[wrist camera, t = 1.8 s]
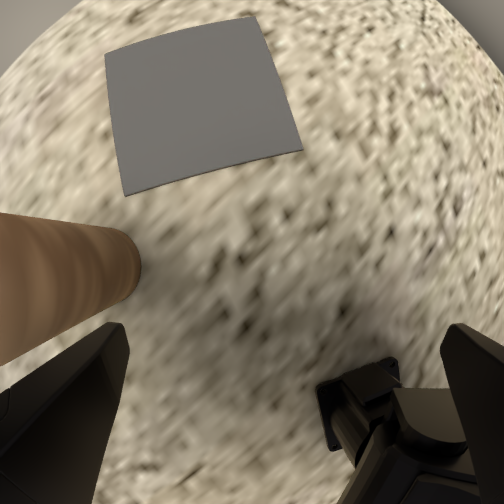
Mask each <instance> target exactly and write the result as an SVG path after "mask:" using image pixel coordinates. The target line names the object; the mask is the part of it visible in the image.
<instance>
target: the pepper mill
mask: <svg viewBox="0 0 504 504" xmlns="http://www.w3.org/2000/svg"><path fill="white" fill-rule="evenodd" d="M140 274H141V260H140V255H139V252H138V250H137V248H136V246H135V244H134V243H133V241H132V240H131V239H130V238H129V237H128V236H127V235H126V234H124V233H123V232H121V231H119V230H116V229H112V228H106V227H99V226H92V225H85V224H78V223H71V222H64V221H57V220H50V219H43V218H35V217H28V216H21V215H14V214H7V213H0V366H3V365H5V364H6V363H8V362H10V361H12V360H14V359H15V358H17V357H19V356H21V355H23V354H24V353H26V352H28V351H30V350H32V349H33V348H35V347H37V346H39V345H41V344H42V343H44V342H46V341H48V340H50V339H52V338H53V337H55V336H57V335H59V334H61V333H62V332H64V331H66V330H68V329H70V328H72V327H73V326H75V325H77V324H79V323H81V322H83V321H85V320H86V319H88V318H90V317H92V316H94V315H96V314H97V313H99V312H101V311H103V310H105V309H107V308H109V307H111V306H112V305H114V304H116V303H118V302H120V301H122V300H124V299H125V298H127V297H128V296H129V295H130V294H131V293H132V292H133V291H134V289H135V288H136V286H137V284H138V282H139V278H140Z"/></svg>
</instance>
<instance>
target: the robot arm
mask: <svg viewBox="0 0 504 504" xmlns="http://www.w3.org/2000/svg"><path fill="white" fill-rule="evenodd" d="M129 354H130V348H129V344H128V340H127V336H126V332H125V328H124V326H123V325H122V324H121V323H115V322H107V323H105V324H104V325H102V326H101V327H99V328H98V329H96V330H94V331H93V332H91V333H90V334H88V335H87V336H85V337H84V338H82V339H81V340H79V341H78V342H76V343H75V344H73V345H72V346H70V347H69V348H67V349H66V350H64V351H63V352H61V353H60V354H58V355H57V356H55V357H54V358H52V359H51V360H49V361H48V362H46V363H45V364H43V365H42V366H40V367H39V368H37V369H36V370H34V371H33V372H31V373H30V374H28V375H27V376H25V377H24V378H22V379H21V380H19V381H18V382H16V383H15V384H14V385H12V386H11V387H10V388H8V389H6V390H5V391H3V392H2V393H0V504H92V500H93V496H94V491H95V487H96V483H97V480H98V476H99V472H100V468H101V464H102V461H103V457H104V454H105V450H106V447H107V443H108V440H109V436H110V433H111V430H112V426H113V423H114V420H115V416H116V413H117V410H118V406H119V403H120V398H121V393H122V388H123V383H124V378H125V374H126V369H127V364H128V360H129ZM440 355H441V358H442V361H443V365H444V369H445V372H446V376H447V380H448V384H449V388H450V389H447V388H445V389H422V388H404V387H403V386H402V383H401V382H400V377H399V367H398V361H397V360H396V359H395V358H394V357H389V358H387V359H384V360H382V361H380V362H377V363H370V364H368V365H365V366H363V367H360V368H358V369H355V370H353V371H350V372H347V373H345V374H343V375H342V376H341V377H339V378H336V379H333V380H330V381H327V382H324V383H322V384H319V385H318V386H317V387H316V389H315V393H316V397H317V402H318V406H319V411H320V415H321V419H322V424H323V429H324V433H325V438H326V442H327V447H328V449H329V450H330V451H332V452H334V451H337V450H340V449H344V451H345V453H346V455H347V456H348V458H349V460H350V461H351V463H352V465H353V466H354V468H355V471H354V473H353V475H352V477H351V479H350V481H349V483H348V484H347V486H346V488H345V490H344V492H343V493H342V495H341V497H340V499H339V500H338V502H337V504H504V346H502V345H500V344H499V343H497V342H495V341H493V340H492V339H490V338H488V337H486V336H485V335H483V334H481V333H479V332H478V331H476V330H474V329H472V328H471V327H469V326H467V325H465V324H463V323H456V324H452V325H450V326H449V328H448V330H447V332H446V335H445V337H444V339H443V341H442V343H441V346H440ZM391 362H393V364H392V365H391V366H389V365H390V363H391ZM322 389H325V391H324V392H323V393H320V391H321V390H322ZM335 444H336V445H335ZM333 445H335V446H333ZM332 446H333V447H332Z"/></svg>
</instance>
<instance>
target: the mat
mask: <svg viewBox="0 0 504 504" xmlns="http://www.w3.org/2000/svg"><path fill="white" fill-rule="evenodd" d="M105 68H106V79H107V89H108V98H109V107H110V115H111V122H112V129H113V136H114V142H115V149H116V155H117V160H118V166H119V172H120V177H121V182H122V187H123V192H124V196H125V197H126V196H129V195H133V194H136V193H139V192H142V191H145V190H148V189H151V188H155V187H158V186H161V185H165V184H168V183H171V182H175V181H178V180H182V179H185V178H189V177H192V176H196V175H200V174H203V173H207V172H211V171H215V170H218V169H222V168H226V167H230V166H234V165H238V164H242V163H246V162H251V161H255V160H259V159H264V158H268V157H273V156H277V155H282V154H286V153H291V152H296V151H301V150H303V146H302V143H301V140H300V137H299V134H298V130H297V127H296V124H295V121H294V118H293V115H292V112H291V110H290V107H289V104H288V101H287V98H286V95H285V92H284V89H283V87H282V84H281V81H280V78H279V76H278V73H277V70H276V68H275V65H274V62H273V60H272V57H271V54H270V52H269V49H268V47H267V44H266V42H265V39H264V37H263V34H262V32H261V29H260V27H259V24H258V22H257V20H256V17H255V16H254V17H246V18H239V19H233V20H227V21H221V22H216V23H210V24H205V25H200V26H196V27H191V28H187V29H183V30H179V31H175V32H171V33H167V34H164V35H160V36H157V37H153V38H150V39H146V40H143V41H140V42H137V43H134V44H131V45H128V46H125V47H122V48H119V49H117V50H114V51H111V52H109V53H106V54H105Z"/></svg>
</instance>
